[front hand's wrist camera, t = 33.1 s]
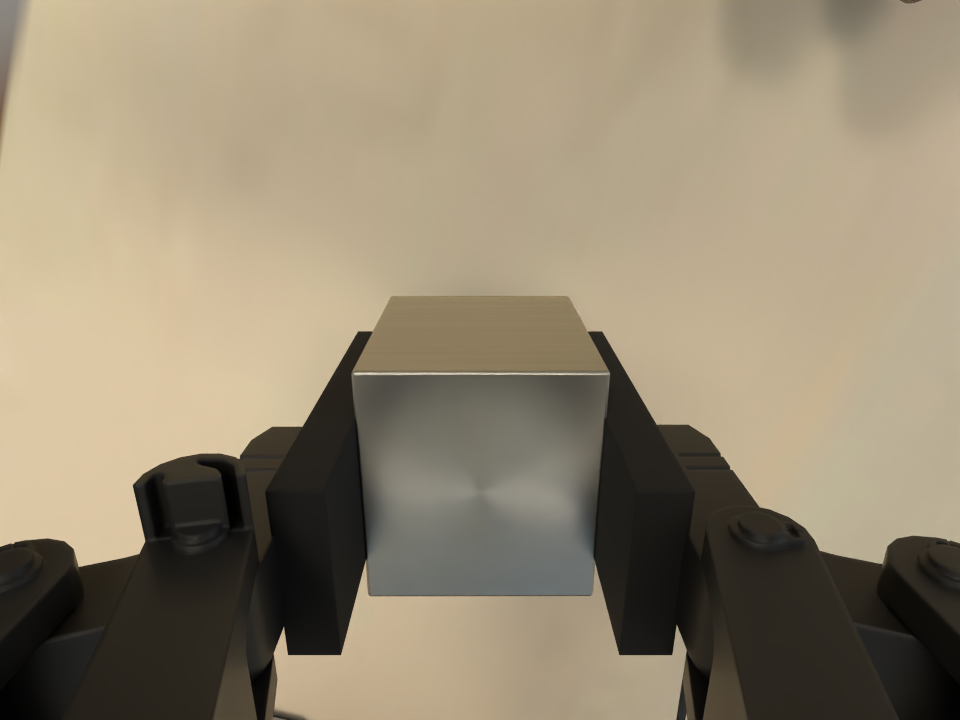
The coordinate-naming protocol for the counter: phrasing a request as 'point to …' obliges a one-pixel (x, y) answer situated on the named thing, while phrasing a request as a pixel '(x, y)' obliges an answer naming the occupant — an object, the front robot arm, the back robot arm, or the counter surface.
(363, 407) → the metal block
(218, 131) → the counter surface
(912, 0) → the figurine character
